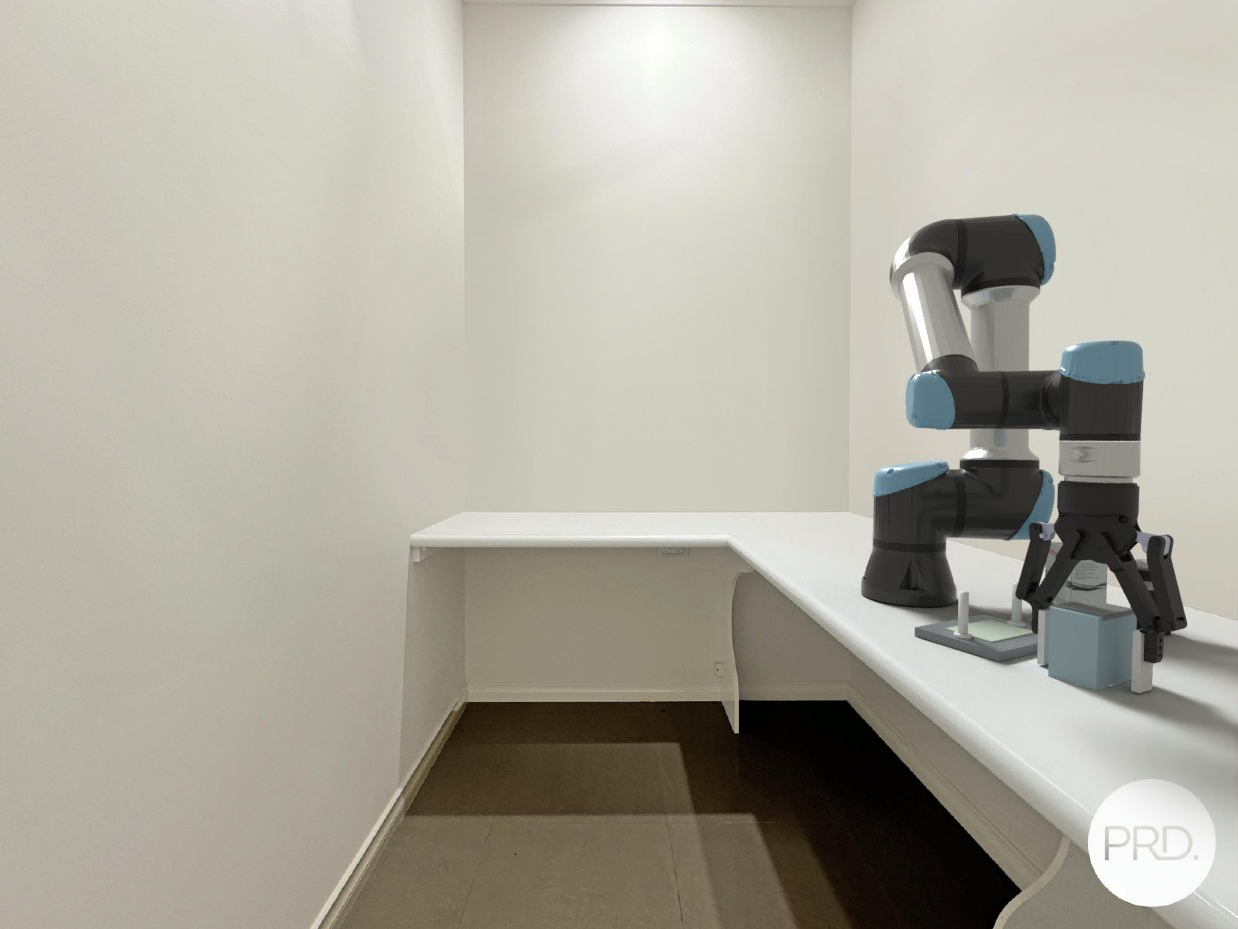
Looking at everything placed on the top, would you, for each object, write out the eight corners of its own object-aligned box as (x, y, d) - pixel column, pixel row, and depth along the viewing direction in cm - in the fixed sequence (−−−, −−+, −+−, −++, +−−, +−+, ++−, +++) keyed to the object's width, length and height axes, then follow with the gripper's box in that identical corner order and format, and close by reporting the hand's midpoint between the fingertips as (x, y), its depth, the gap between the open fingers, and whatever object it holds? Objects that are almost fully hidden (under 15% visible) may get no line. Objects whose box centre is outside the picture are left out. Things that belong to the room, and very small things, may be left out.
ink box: (1107, 635, 92) (1110, 551, 92) (1068, 632, 93) (1070, 550, 93) (1077, 618, 100) (1080, 542, 100) (1042, 616, 101) (1044, 540, 101)
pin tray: (914, 635, 91) (915, 584, 91) (982, 622, 98) (984, 574, 98) (998, 661, 81) (1000, 603, 80) (1068, 644, 87) (1070, 590, 87)
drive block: (1047, 676, 76) (1049, 605, 76) (1086, 665, 80) (1088, 598, 79) (1096, 691, 71) (1099, 616, 71) (1135, 679, 75) (1137, 608, 75)
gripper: (984, 475, 83) (980, 652, 83) (1202, 486, 63) (1193, 717, 64) (1020, 474, 86) (1016, 644, 87) (1237, 484, 67) (1228, 703, 67)
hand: (1091, 675), depth 75 cm, fingers open, 9 cm apart
